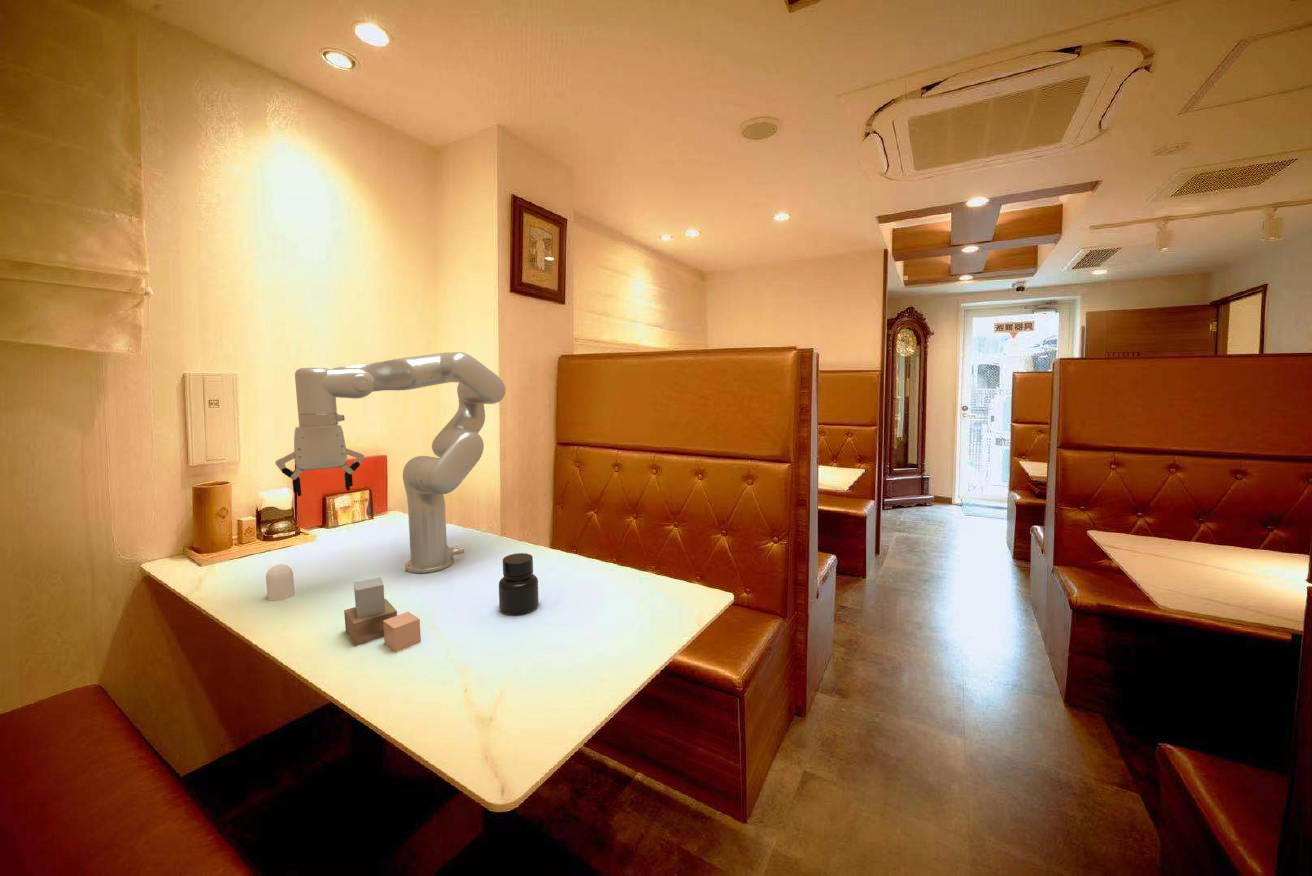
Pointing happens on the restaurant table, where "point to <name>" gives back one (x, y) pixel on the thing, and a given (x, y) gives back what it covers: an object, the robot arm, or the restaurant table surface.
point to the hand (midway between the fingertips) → (324, 492)
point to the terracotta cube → (401, 631)
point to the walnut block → (367, 624)
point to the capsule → (280, 582)
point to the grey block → (369, 597)
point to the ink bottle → (518, 585)
